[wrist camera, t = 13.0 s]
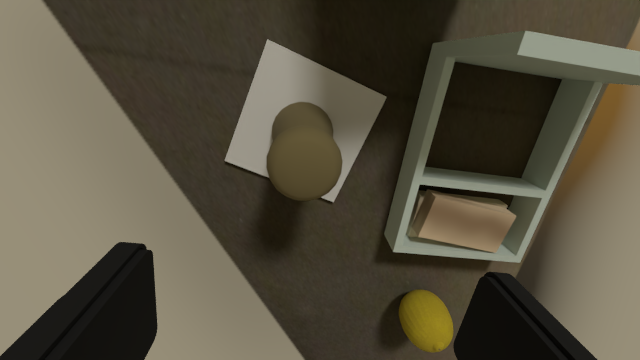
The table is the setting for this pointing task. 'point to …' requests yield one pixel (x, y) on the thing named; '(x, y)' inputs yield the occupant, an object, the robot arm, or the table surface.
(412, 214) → the offcut lower
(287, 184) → the cork
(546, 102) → the table surface
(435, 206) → the offcut upper
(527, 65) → the rack
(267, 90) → the mat
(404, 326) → the lemon
